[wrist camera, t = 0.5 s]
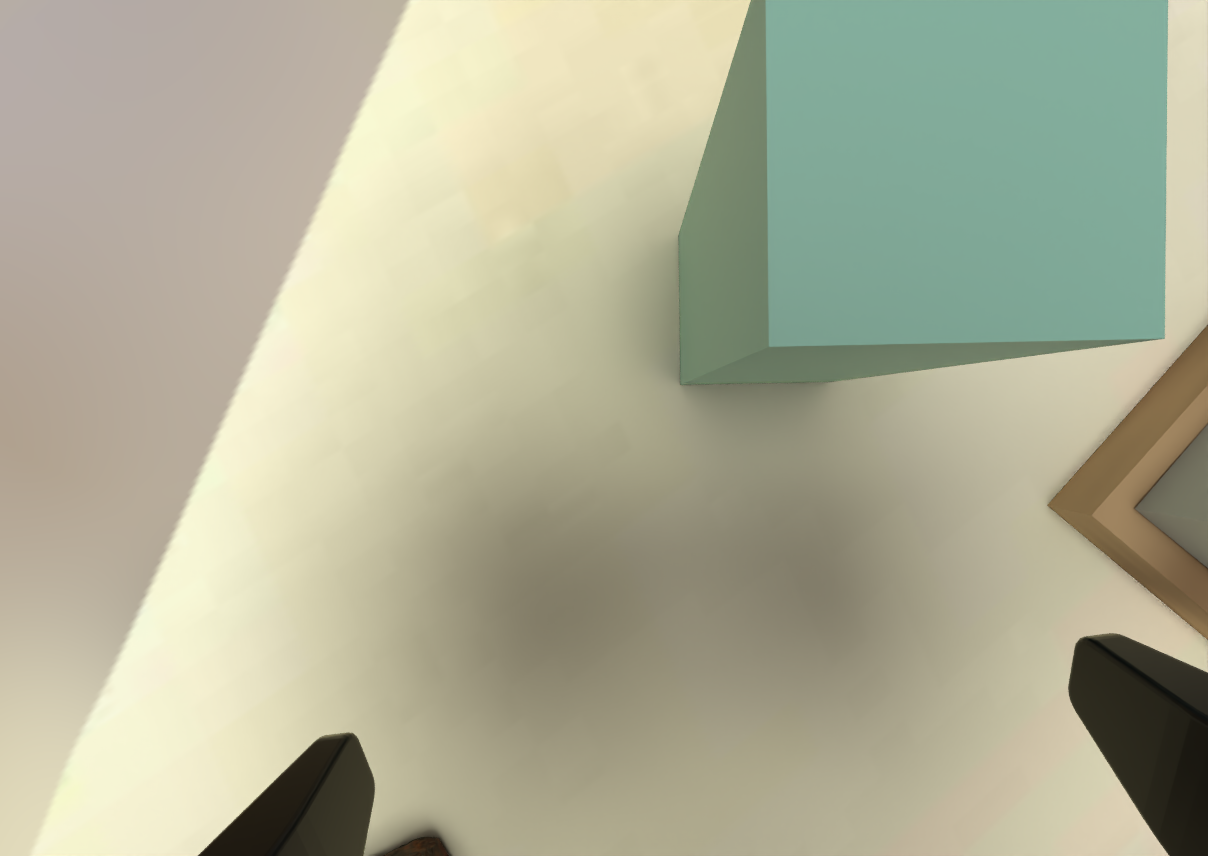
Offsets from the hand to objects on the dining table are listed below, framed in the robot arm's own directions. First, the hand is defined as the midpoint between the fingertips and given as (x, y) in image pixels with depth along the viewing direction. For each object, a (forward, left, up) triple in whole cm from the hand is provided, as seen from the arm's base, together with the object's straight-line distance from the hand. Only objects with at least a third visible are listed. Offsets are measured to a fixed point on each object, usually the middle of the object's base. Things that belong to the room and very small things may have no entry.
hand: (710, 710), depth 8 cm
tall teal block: (+6, -5, -14) cm, 16 cm away
